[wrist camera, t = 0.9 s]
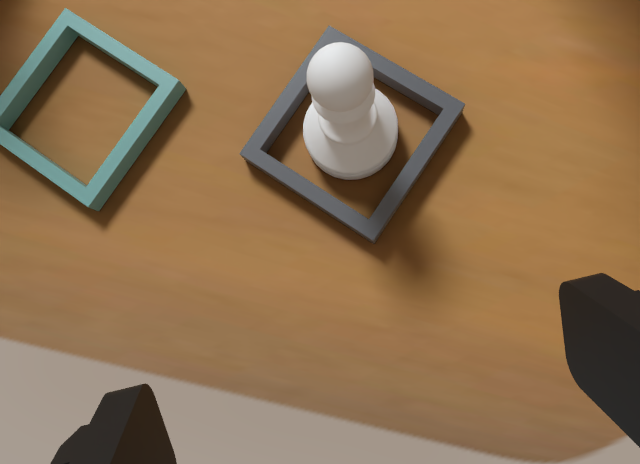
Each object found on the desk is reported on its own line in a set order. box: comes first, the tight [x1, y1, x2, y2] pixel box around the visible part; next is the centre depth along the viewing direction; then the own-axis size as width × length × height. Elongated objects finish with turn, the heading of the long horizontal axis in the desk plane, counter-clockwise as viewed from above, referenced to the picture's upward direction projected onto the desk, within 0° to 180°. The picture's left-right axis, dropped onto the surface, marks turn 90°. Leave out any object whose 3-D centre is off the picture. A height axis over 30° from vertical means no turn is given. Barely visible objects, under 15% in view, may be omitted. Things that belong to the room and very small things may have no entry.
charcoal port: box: [240, 26, 465, 244], centre depth 31 cm, size 9×9×1 cm
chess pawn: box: [303, 42, 398, 180], centre depth 27 cm, size 5×5×9 cm
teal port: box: [0, 8, 186, 211], centre depth 33 cm, size 9×9×1 cm
